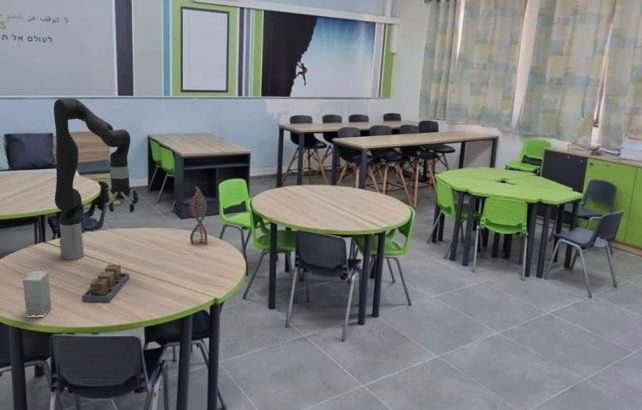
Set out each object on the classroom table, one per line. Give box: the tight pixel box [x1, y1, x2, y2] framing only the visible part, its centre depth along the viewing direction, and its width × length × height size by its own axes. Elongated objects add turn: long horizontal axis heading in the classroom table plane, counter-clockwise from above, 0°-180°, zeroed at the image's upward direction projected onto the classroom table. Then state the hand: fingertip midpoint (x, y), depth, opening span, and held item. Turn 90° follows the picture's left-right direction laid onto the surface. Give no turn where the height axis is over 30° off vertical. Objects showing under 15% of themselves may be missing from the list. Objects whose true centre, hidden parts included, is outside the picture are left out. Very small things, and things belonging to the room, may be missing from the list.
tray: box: [81, 263, 130, 303], centre depth 230 cm, size 11×24×7 cm, turn 0°
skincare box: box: [22, 270, 52, 316], centre depth 207 cm, size 8×7×16 cm
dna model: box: [188, 186, 208, 245], centre depth 285 cm, size 9×9×30 cm
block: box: [89, 278, 108, 296], centre depth 222 cm, size 5×5×6 cm
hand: (121, 211), depth 243 cm, fingers open, 8 cm apart
